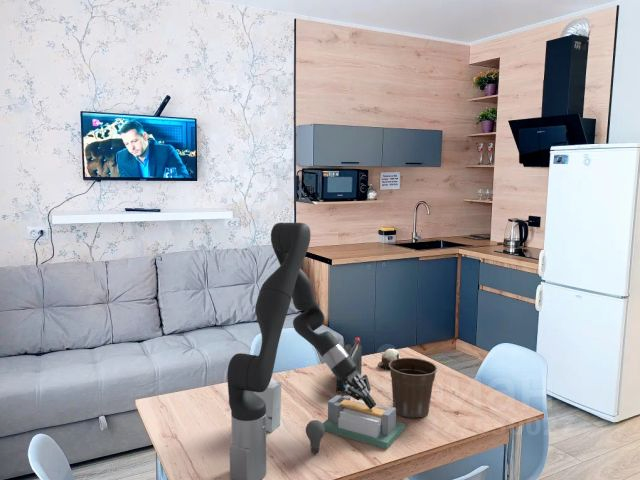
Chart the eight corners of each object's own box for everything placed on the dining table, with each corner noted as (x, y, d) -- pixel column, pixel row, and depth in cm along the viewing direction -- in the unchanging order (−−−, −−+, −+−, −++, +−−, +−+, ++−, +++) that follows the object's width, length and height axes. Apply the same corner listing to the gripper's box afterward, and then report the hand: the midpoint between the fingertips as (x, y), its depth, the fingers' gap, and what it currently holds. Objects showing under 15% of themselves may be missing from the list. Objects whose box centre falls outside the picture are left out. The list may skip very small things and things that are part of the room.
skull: (387, 356, 234) (401, 343, 228) (401, 376, 229) (415, 363, 224) (370, 361, 226) (383, 348, 220) (383, 383, 221) (397, 369, 215)
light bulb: (319, 446, 159) (319, 415, 158) (328, 455, 154) (328, 422, 153) (302, 451, 156) (302, 419, 155) (311, 460, 152) (311, 427, 150)
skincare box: (250, 427, 171) (249, 383, 169) (259, 419, 176) (259, 376, 174) (273, 433, 167) (272, 388, 165) (282, 425, 173) (281, 381, 171)
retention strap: (339, 405, 171) (339, 403, 171) (344, 401, 174) (344, 399, 174) (382, 417, 163) (382, 415, 163) (386, 413, 167) (387, 410, 166)
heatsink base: (387, 449, 158) (387, 422, 157) (321, 430, 169) (321, 404, 168) (404, 429, 170) (405, 404, 169) (342, 413, 181) (342, 389, 180)
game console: (351, 398, 193) (351, 359, 191) (334, 396, 195) (334, 358, 193) (362, 370, 220) (363, 336, 218) (347, 368, 222) (348, 334, 220)
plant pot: (437, 403, 189) (438, 360, 187) (434, 424, 173) (435, 377, 171) (391, 398, 193) (392, 355, 191) (384, 418, 178) (385, 371, 176)
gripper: (336, 361, 164) (372, 408, 159) (356, 349, 175) (389, 393, 171) (321, 374, 167) (356, 421, 163) (341, 362, 178) (374, 405, 174)
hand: (373, 406), depth 167 cm, fingers closed
